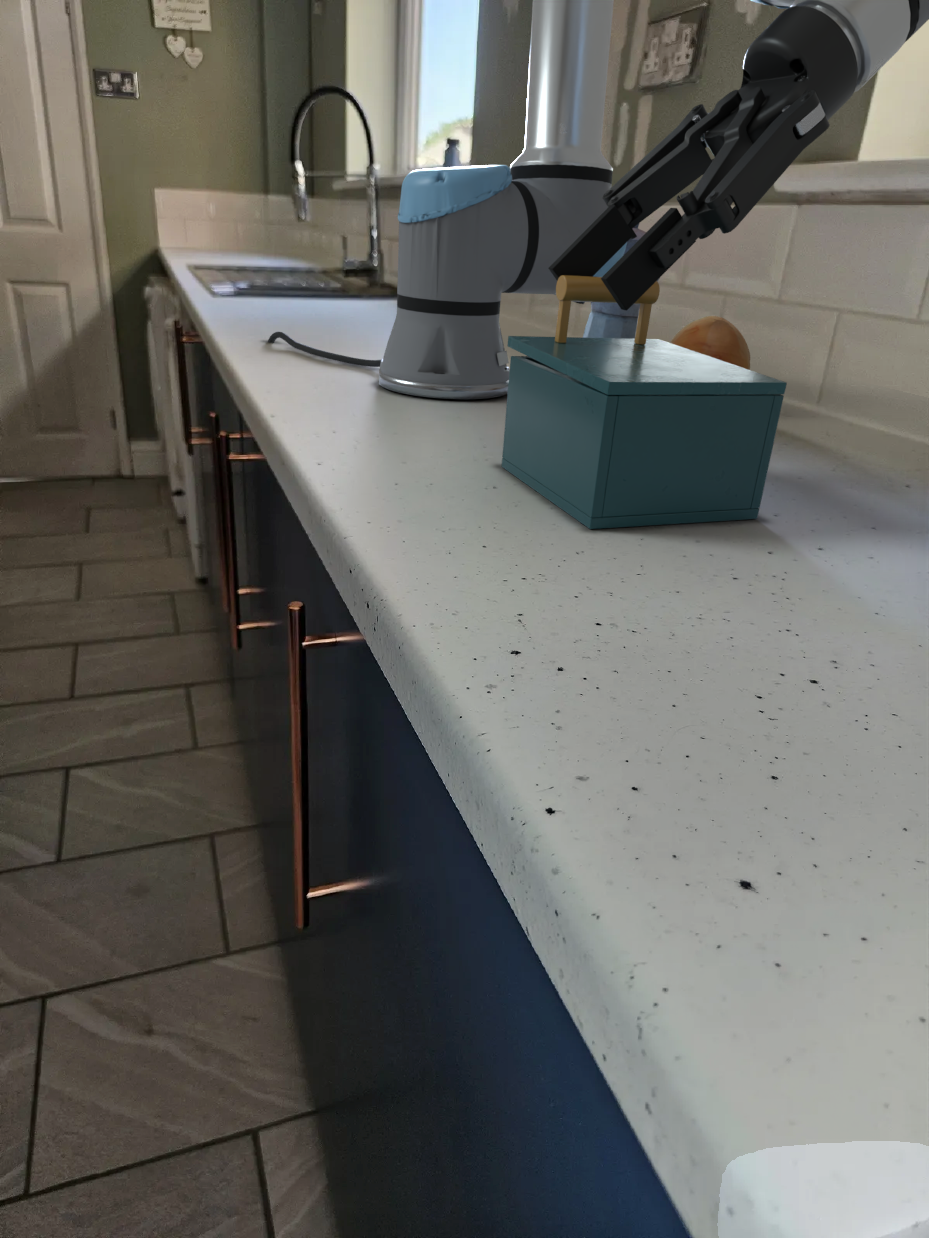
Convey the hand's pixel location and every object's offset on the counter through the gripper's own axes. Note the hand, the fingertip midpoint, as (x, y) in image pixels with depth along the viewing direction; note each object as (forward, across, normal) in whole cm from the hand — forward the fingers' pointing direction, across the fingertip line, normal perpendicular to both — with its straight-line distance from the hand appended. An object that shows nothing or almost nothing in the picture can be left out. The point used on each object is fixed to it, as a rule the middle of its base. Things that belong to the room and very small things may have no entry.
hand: (585, 288), depth 62 cm
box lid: (+1, +3, +6) cm, 7 cm away
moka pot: (-10, -48, +31) cm, 58 cm away
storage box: (+8, +3, +12) cm, 15 cm away
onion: (-11, -27, +32) cm, 43 cm away
